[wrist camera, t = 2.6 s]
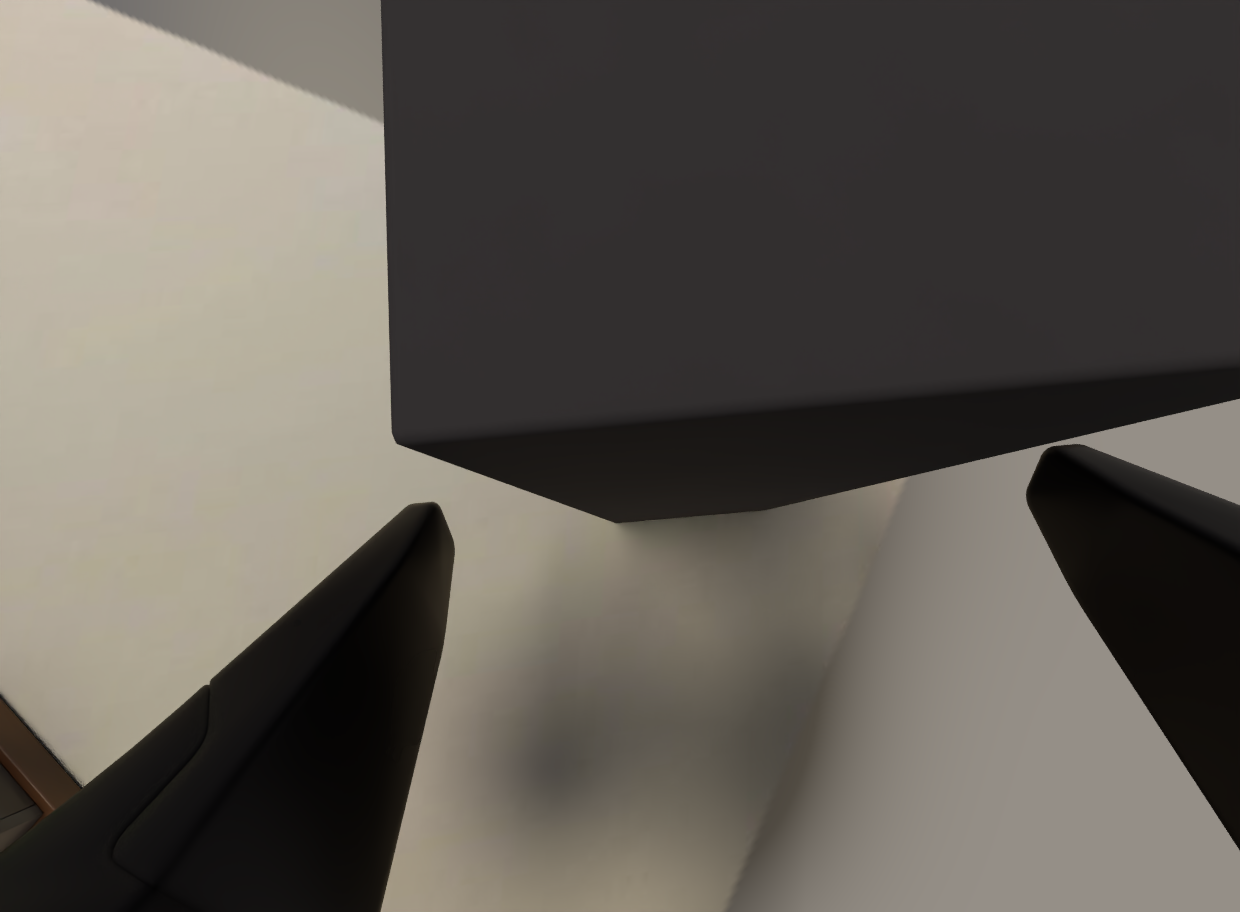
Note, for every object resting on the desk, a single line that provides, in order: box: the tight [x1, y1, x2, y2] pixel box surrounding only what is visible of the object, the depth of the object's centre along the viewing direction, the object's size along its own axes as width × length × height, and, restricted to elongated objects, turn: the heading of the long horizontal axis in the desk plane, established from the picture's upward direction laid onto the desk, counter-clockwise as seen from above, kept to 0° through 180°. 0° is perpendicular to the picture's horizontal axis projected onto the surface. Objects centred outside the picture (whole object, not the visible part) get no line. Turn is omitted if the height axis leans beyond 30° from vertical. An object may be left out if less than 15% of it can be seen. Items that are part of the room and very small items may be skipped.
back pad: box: [381, 0, 1240, 523], centre depth 11 cm, size 3×5×16 cm, turn 95°
